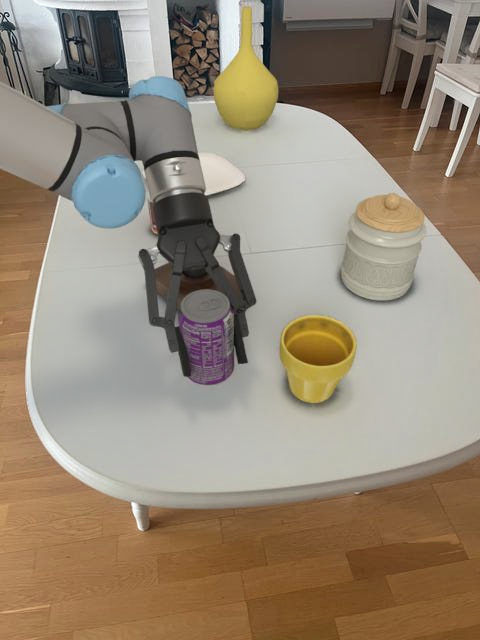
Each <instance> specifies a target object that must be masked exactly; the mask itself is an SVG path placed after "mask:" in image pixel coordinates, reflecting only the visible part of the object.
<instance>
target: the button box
mask: <svg viewBox="0 0 480 640" xmlns="http://www.w3.org/2000/svg"><path fill="white" fill-rule="evenodd" d="M219 266H220V268H221V269H222V271H223V273H224V274H225V276H226V278H227V279H228V281H229V282H230V284H231V286H232V287H233V289H234V291H235V292H236V294H237V295H238V297H239V299H240V300H241V301H243V300H242V297H241V294H240V291H239V288H238V285H237V282H236V279H235V275H234V273H232V272H230V271H229V270H227V269H226V268H225V267H223V266H221V265H220V264H219ZM154 269H155V278H156V289H157V294H159V295H161V297H163V298H164V300H167V298H168V291H169V284H170V277H171V269H172V264H171V263H169V262H166V263H164V264H162V265H160V266H158V267H155V268H154ZM203 289H210V290H216V291H219V289H218V288H217V286H216V284H215V283H214V281H213V279H212V278H211V276H210V275H209V273H208V274H207V275H205V276H203V277H200V278H190V277H186V276H185V275H184V273H183V271H182V275H181V282H180V288H179V295H178V302H177V309H176V310H178V311H180V309H181V302H182V300H183V299H184V298H185V297H186V296H187V295H188V294H190V293H192V292H194V291H197V290H203ZM219 292H220V291H219Z"/></svg>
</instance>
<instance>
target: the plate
mask: <svg viewBox="0 0 480 640" xmlns="http://www.w3.org/2000/svg"><path fill="white" fill-rule="evenodd" d="M198 155H199V160H200V164H201V168H202V173H203V177H204V182H205V186H206V192H205V193H204V194H205V195H206V196H207V197H209V196H212V195H216V194H221V193H224V192H227V191H229V190H232V189H235V188H237V187H239V186H241V185H242V184H243V183H244V182H245V181H246V178H245V174H244V173H243V171H241V170H240V169H239V168H237V167H236V166H235V165H234V164H233V163H231V162H229V161H228V160H227V159H226V158H224V157H222V156H220V155H218V154H217V153H213V152H208V151H202V152H201V151H198ZM141 175H142V176H143V178H144V179H145V180H146V176H145V171H144V168H143V169H142V172H141Z"/></svg>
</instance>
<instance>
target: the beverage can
mask: <svg viewBox="0 0 480 640" xmlns="http://www.w3.org/2000/svg"><path fill="white" fill-rule="evenodd" d="M177 318H178V326H179V327H180V331H181V334H182V337H183V339H184V343H185V347H186V352H187V357H188V362H189V366H190V371H191V376H188V377H187V379H189V380H190V381H192V382H193V383H195V384H197V385H201V386H213V385H218V384H220V383H223V382H225V381H227V379H229V378H230V377H231V376H232V375H233V372H234V370H235V347H234V313H233V310H232V308H231V307H230V302H229V299H228V298H227V296H225V295H224V294H223V293H221V292H219V291H216V290H210V289H203V290H197V291H194V292H192V293H190V294H188V295H187V296H186V297H185V298H184V299H183V300H182V302H181V309H180V310H179V312H178V315H177Z"/></svg>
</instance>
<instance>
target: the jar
mask: <svg viewBox="0 0 480 640" xmlns="http://www.w3.org/2000/svg"><path fill="white" fill-rule="evenodd" d="M425 219H426V218H425V213H424V211H423V210H422V209H421V208H420V207H419V206H417V205H416V204H415V203H414V202H412V201H411V200H409V199H408V198H406V197H403V196H400V195H399V194H398V193H396V192H390V193H388V194H378V195H374V196H372V197H369V198H366V199H363V200H361V201H359V203H358V204H357V205H356V207H355V211H354V212H353V213H352V214H351V215H350V216H349V218H348V226H349V231H348V232H347V234H346V237H345V249H344V254H343V260H342V262H341V267H340V274H341V275H340V276H341V281H342V283H343V285H344V286H345V288H346V289H347V290H349V291H350V292H352V293H354V295H357V296H359V297H361V298H365V299H368V300H372V301H392V300H396V299H398V298H401V297H402V296H404V295H405V294H406V293H408V291H409V289H410V287H411V286H412V284H413V281H414V276H415V271H416V266H417V263H418V259H419V255H420V254H421V251H422V247H423V246H422V240H424V239H425V237H426V235H427V226H426V224H425V223H424V222H425Z"/></svg>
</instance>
